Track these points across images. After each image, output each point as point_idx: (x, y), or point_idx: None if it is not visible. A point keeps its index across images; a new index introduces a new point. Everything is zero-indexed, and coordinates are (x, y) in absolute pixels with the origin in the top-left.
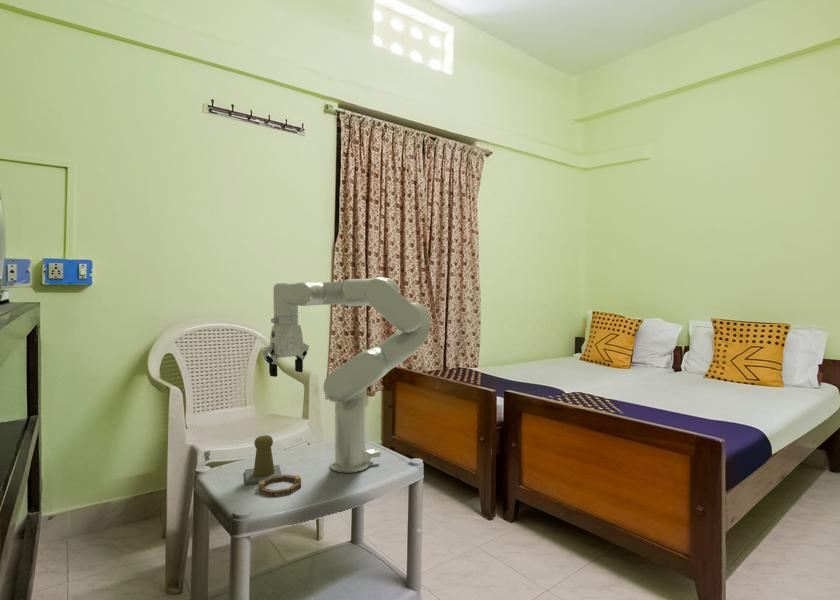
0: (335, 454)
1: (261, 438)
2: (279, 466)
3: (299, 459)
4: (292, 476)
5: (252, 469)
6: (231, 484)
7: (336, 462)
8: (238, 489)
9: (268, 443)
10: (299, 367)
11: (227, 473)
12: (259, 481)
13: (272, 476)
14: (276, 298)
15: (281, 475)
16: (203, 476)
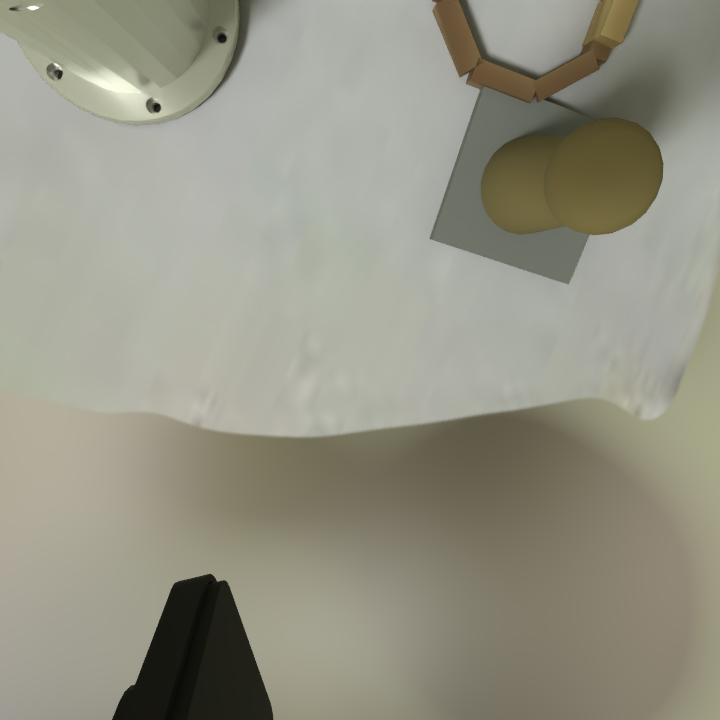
0: (195, 5)
1: (645, 153)
2: (439, 217)
3: (312, 272)
4: (456, 28)
5: (544, 264)
6: None
7: (206, 2)
8: (662, 113)
9: (600, 120)
10: (217, 685)
11: (618, 317)
12: (622, 34)
13: (526, 99)
14: None
15: (490, 81)
16: (694, 347)
